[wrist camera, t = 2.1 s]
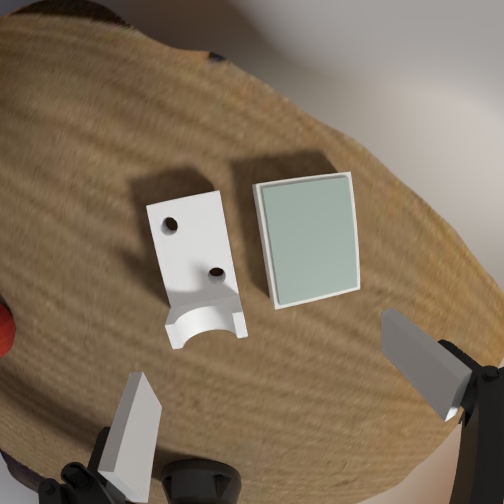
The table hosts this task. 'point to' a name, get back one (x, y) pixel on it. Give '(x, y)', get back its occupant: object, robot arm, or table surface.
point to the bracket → (196, 267)
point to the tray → (308, 237)
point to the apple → (6, 330)
